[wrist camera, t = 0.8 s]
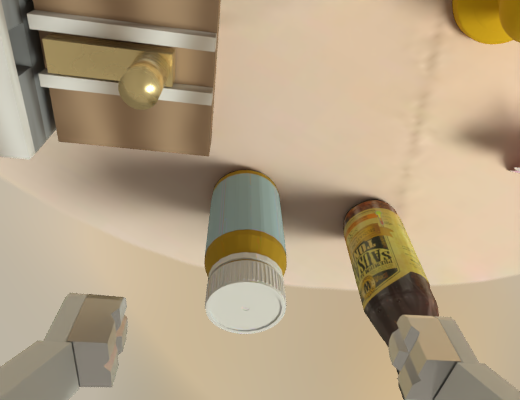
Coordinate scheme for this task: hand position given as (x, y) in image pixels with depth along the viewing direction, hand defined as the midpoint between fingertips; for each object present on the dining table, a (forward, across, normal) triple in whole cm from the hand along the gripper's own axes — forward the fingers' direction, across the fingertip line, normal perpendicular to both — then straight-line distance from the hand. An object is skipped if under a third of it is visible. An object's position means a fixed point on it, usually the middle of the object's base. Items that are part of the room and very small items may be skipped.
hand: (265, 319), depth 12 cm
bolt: (+24, +10, -1) cm, 26 cm away
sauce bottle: (+28, -15, +15) cm, 35 cm away
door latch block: (+27, +13, -1) cm, 30 cm away
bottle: (+28, -1, +13) cm, 31 cm away
